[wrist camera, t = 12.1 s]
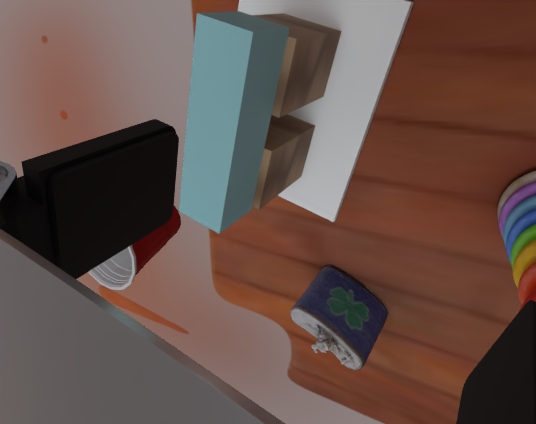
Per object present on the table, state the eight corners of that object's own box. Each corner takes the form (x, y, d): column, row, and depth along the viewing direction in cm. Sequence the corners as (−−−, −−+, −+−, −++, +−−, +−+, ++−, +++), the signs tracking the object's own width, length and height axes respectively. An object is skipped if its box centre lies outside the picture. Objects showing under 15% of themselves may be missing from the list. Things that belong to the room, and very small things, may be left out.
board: (251, -41, 39) (245, -42, 38) (414, 2, 33) (411, 2, 33) (220, 163, 51) (215, 165, 50) (336, 218, 45) (333, 222, 45)
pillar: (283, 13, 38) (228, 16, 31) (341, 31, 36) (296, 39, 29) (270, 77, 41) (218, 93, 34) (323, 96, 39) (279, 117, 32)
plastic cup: (200, 200, 55) (133, 241, 46) (190, 258, 61) (130, 305, 52) (140, 166, 58) (67, 198, 49) (137, 225, 65) (71, 263, 55)
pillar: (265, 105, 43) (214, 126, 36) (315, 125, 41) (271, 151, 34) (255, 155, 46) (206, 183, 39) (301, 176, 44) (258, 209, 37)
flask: (318, 272, 50) (277, 327, 42) (330, 257, 48) (289, 311, 40) (380, 322, 48) (350, 388, 40) (395, 308, 47) (366, 375, 38)
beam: (239, 11, 31) (197, 13, 27) (289, 27, 29) (253, 32, 25) (213, 190, 39) (178, 211, 36) (251, 209, 38) (219, 233, 34)
